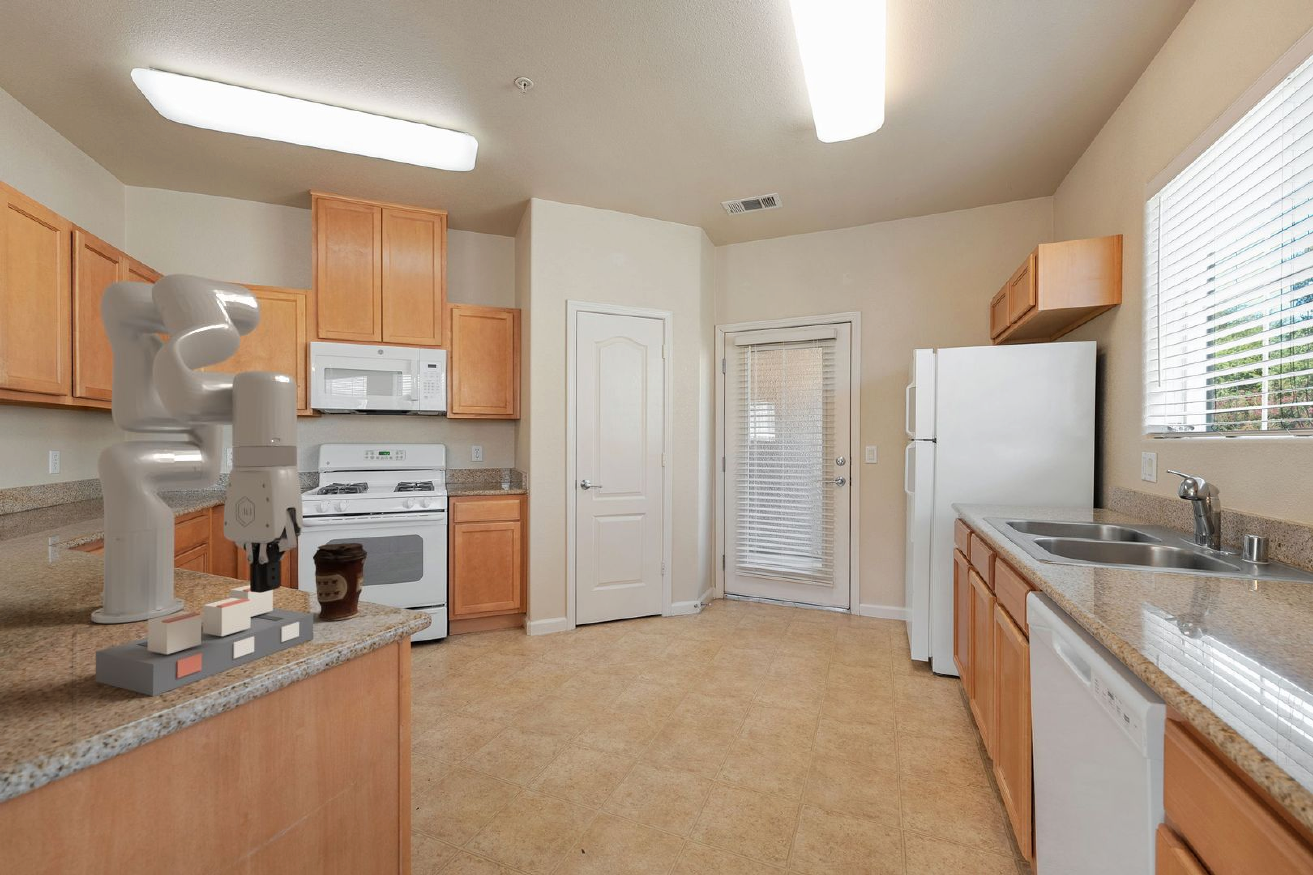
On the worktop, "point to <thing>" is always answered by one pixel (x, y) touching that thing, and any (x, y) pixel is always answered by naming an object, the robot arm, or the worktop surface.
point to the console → (200, 654)
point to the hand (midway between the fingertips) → (265, 589)
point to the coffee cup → (339, 579)
